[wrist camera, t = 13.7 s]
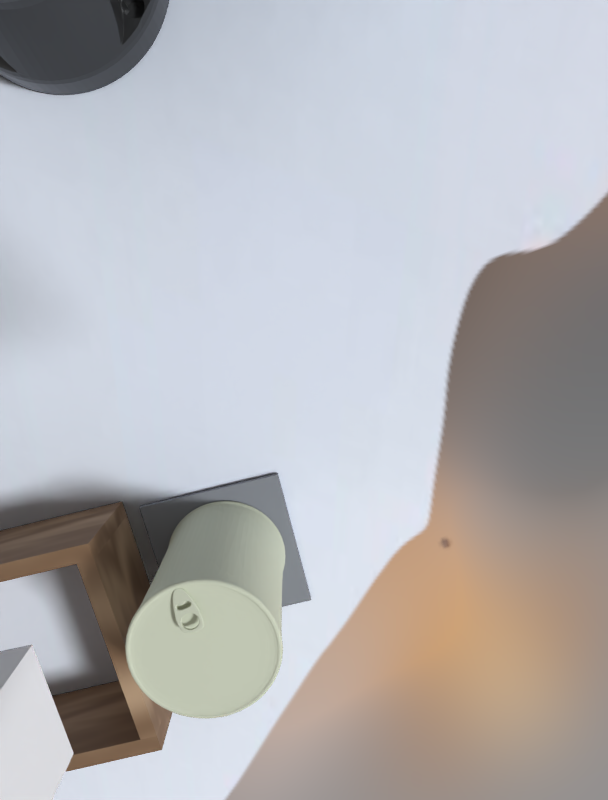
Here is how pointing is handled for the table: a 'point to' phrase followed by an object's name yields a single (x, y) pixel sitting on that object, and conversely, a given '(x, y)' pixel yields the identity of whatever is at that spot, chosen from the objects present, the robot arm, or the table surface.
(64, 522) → the crate
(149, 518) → the mat
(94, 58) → the robot arm
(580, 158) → the table surface
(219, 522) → the can
